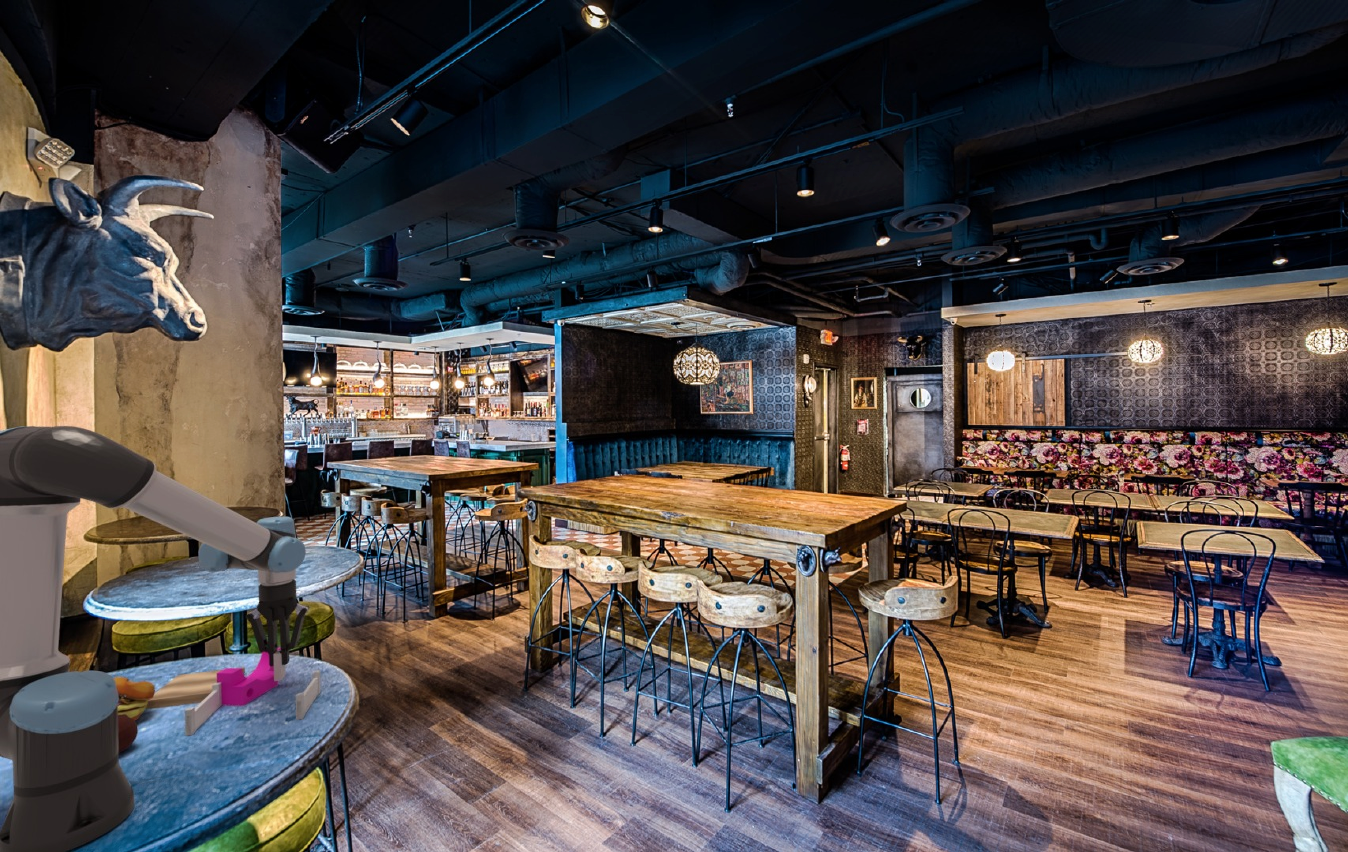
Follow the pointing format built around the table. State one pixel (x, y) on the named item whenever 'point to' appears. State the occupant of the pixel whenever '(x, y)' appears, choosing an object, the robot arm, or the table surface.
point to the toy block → (246, 682)
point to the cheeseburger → (133, 696)
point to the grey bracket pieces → (214, 701)
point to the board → (185, 690)
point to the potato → (126, 732)
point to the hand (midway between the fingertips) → (279, 678)
